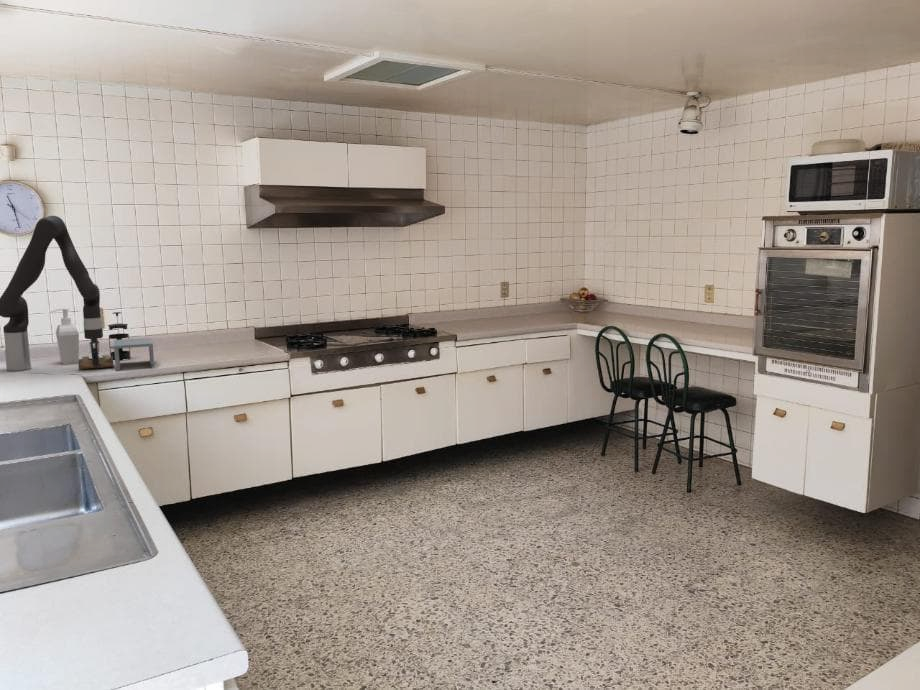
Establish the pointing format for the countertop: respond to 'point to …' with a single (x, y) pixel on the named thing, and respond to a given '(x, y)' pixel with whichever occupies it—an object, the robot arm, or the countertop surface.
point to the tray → (103, 361)
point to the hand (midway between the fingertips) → (96, 364)
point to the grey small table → (129, 344)
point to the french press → (119, 337)
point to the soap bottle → (67, 339)
